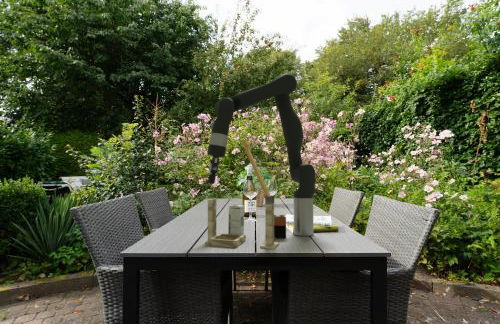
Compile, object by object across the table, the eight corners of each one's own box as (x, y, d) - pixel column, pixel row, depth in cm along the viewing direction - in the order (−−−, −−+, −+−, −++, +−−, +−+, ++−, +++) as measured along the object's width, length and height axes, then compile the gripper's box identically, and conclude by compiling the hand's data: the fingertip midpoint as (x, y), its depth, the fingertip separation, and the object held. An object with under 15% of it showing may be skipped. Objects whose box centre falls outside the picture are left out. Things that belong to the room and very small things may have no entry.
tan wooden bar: (244, 142, 132) (247, 140, 131) (270, 200, 128) (274, 199, 128) (241, 141, 128) (245, 139, 128) (268, 201, 124) (272, 199, 124)
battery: (285, 238, 140) (285, 216, 140) (270, 238, 140) (270, 215, 141) (286, 236, 144) (286, 214, 144) (271, 236, 145) (271, 214, 145)
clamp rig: (214, 238, 139) (214, 193, 140) (280, 243, 131) (280, 194, 131) (202, 245, 128) (202, 195, 128) (274, 250, 119) (273, 197, 120)
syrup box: (231, 235, 145) (231, 204, 145) (244, 236, 144) (244, 204, 144) (228, 238, 139) (228, 205, 140) (241, 239, 138) (241, 206, 138)
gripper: (228, 145, 126) (221, 185, 125) (225, 148, 140) (218, 184, 139) (209, 141, 125) (202, 182, 123) (208, 145, 139) (201, 181, 137)
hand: (211, 183), depth 131 cm, fingers open, 8 cm apart
